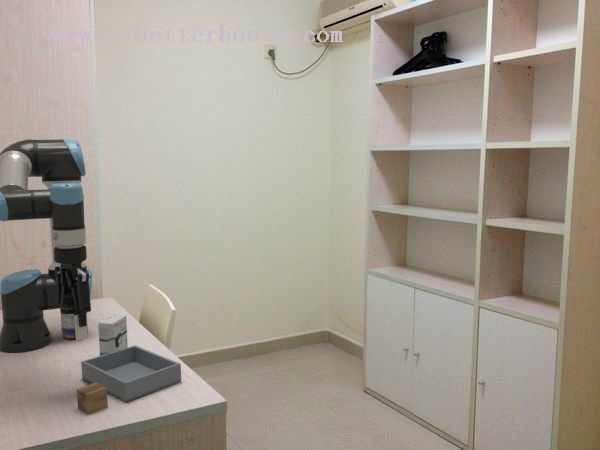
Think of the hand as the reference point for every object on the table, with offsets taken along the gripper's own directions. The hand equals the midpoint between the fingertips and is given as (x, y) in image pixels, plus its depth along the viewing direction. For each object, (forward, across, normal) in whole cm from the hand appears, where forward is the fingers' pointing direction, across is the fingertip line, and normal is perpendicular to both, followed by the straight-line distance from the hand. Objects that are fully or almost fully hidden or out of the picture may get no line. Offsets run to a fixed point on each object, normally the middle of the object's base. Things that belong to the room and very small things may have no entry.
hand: (75, 335), depth 143 cm
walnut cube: (+15, +11, -2) cm, 19 cm away
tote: (+15, +4, +13) cm, 20 cm away
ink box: (+15, -16, +19) cm, 29 cm away
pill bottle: (+1, 0, 0) cm, 1 cm away
